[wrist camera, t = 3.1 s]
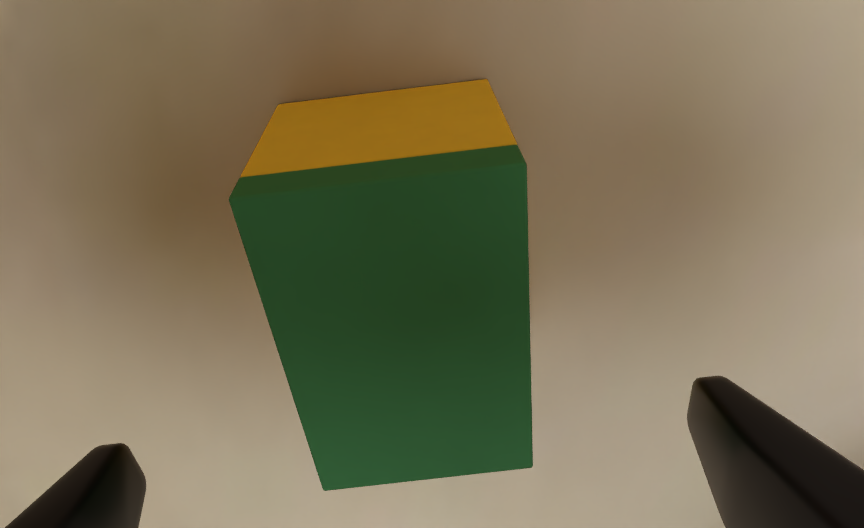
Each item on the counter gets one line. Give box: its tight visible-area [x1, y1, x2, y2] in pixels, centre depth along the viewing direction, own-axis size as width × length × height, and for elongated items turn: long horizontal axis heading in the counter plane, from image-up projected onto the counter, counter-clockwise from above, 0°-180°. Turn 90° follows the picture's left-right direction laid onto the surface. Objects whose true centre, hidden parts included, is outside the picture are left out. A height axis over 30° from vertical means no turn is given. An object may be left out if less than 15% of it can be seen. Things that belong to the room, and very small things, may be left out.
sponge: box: [229, 79, 533, 491], centre depth 13 cm, size 7×4×4 cm, turn 6°
